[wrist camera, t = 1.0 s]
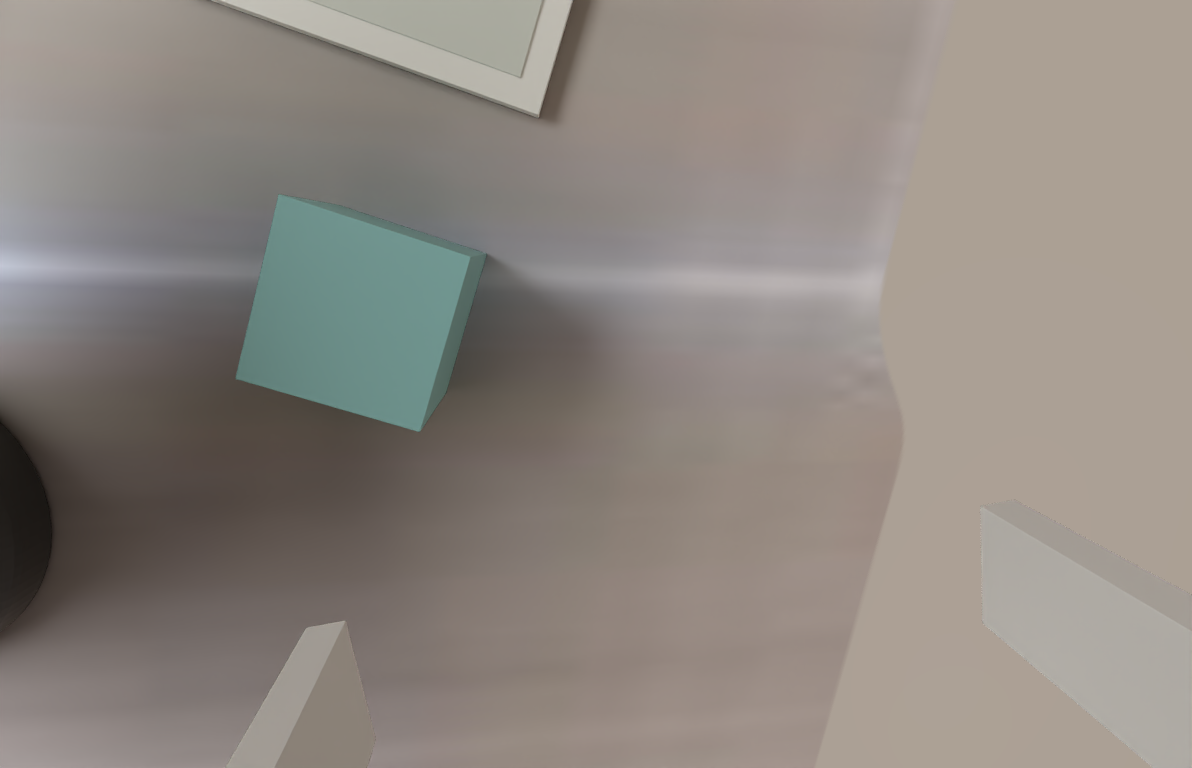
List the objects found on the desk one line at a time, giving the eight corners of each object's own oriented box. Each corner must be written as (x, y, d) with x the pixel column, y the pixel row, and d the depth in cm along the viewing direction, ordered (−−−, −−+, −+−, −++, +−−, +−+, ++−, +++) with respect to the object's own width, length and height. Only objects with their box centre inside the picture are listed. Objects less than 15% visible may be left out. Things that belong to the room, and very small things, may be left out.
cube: (302, 349, 32) (235, 378, 25) (338, 205, 31) (278, 194, 24) (446, 392, 33) (419, 431, 26) (487, 253, 32) (470, 256, 25)
